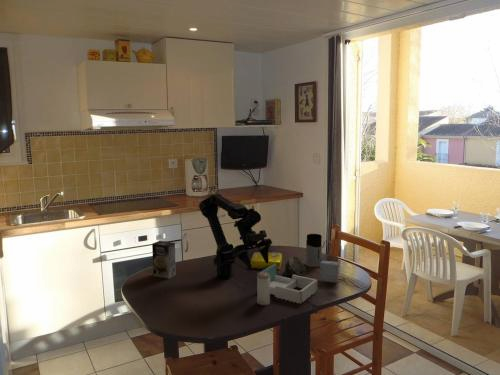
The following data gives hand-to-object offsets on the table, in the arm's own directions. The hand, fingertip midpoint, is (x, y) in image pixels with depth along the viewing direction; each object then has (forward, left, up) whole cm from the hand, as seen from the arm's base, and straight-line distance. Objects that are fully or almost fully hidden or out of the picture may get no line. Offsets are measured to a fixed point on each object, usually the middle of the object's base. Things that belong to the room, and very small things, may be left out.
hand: (259, 265), depth 184 cm
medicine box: (+24, +27, -13) cm, 38 cm away
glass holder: (+14, +46, -13) cm, 50 cm away
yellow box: (-11, +37, -13) cm, 41 cm away
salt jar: (+5, -7, -13) cm, 15 cm away
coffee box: (-50, +3, -13) cm, 52 cm away
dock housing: (+14, +6, -13) cm, 20 cm away
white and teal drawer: (+6, +8, -13) cm, 16 cm away
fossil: (+7, +29, -13) cm, 32 cm away
